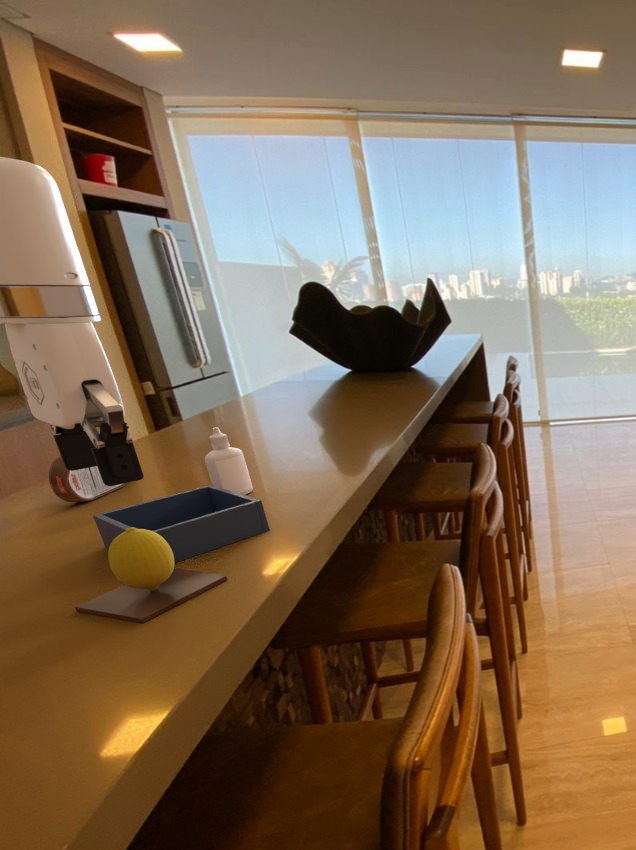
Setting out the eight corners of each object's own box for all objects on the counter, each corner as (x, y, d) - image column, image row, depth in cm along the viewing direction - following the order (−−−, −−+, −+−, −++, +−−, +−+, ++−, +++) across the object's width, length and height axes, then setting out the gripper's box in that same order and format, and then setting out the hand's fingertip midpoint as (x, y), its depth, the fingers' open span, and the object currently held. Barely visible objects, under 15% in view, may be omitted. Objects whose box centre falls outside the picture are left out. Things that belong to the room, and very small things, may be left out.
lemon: (173, 574, 70) (151, 514, 67) (190, 587, 67) (168, 525, 64) (116, 593, 66) (90, 530, 63) (132, 607, 63) (105, 542, 60)
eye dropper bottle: (257, 494, 99) (237, 426, 94) (218, 502, 95) (196, 432, 91) (251, 488, 102) (232, 422, 97) (214, 496, 98) (192, 428, 94)
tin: (125, 480, 107) (109, 437, 104) (143, 480, 107) (127, 436, 104) (58, 509, 93) (37, 460, 90) (79, 508, 93) (58, 459, 90)
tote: (153, 570, 72) (140, 536, 70) (105, 547, 79) (92, 515, 77) (270, 530, 84) (261, 500, 82) (219, 512, 91) (210, 484, 89)
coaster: (142, 623, 61) (140, 618, 60) (76, 611, 63) (74, 606, 63) (227, 579, 70) (226, 575, 69) (166, 570, 72) (164, 566, 72)
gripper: (-40, 304, 55) (28, 470, 62) (22, 310, 47) (93, 500, 54) (61, 303, 61) (114, 454, 68) (132, 307, 53) (184, 479, 60)
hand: (105, 474), depth 61 cm, fingers open, 9 cm apart
